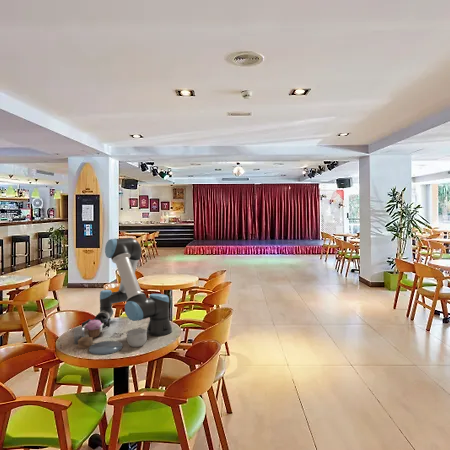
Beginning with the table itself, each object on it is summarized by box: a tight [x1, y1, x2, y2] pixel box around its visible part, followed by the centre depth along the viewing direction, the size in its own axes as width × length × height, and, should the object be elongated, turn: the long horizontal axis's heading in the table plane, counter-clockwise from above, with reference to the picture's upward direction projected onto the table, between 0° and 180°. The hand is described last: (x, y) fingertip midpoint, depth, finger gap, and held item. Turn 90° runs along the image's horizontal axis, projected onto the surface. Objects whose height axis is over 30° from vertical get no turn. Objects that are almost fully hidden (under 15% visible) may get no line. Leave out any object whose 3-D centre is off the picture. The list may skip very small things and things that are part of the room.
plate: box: [88, 340, 123, 356], centre depth 196 cm, size 17×17×1 cm
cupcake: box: [86, 319, 102, 339], centre depth 215 cm, size 9×9×10 cm
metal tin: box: [73, 326, 86, 345], centre depth 206 cm, size 6×6×8 cm
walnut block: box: [77, 336, 94, 349], centre depth 200 cm, size 6×6×4 cm
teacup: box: [125, 327, 148, 348], centre depth 202 cm, size 14×11×8 cm
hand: (91, 328), depth 211 cm, fingers closed on cupcake, 9 cm apart
